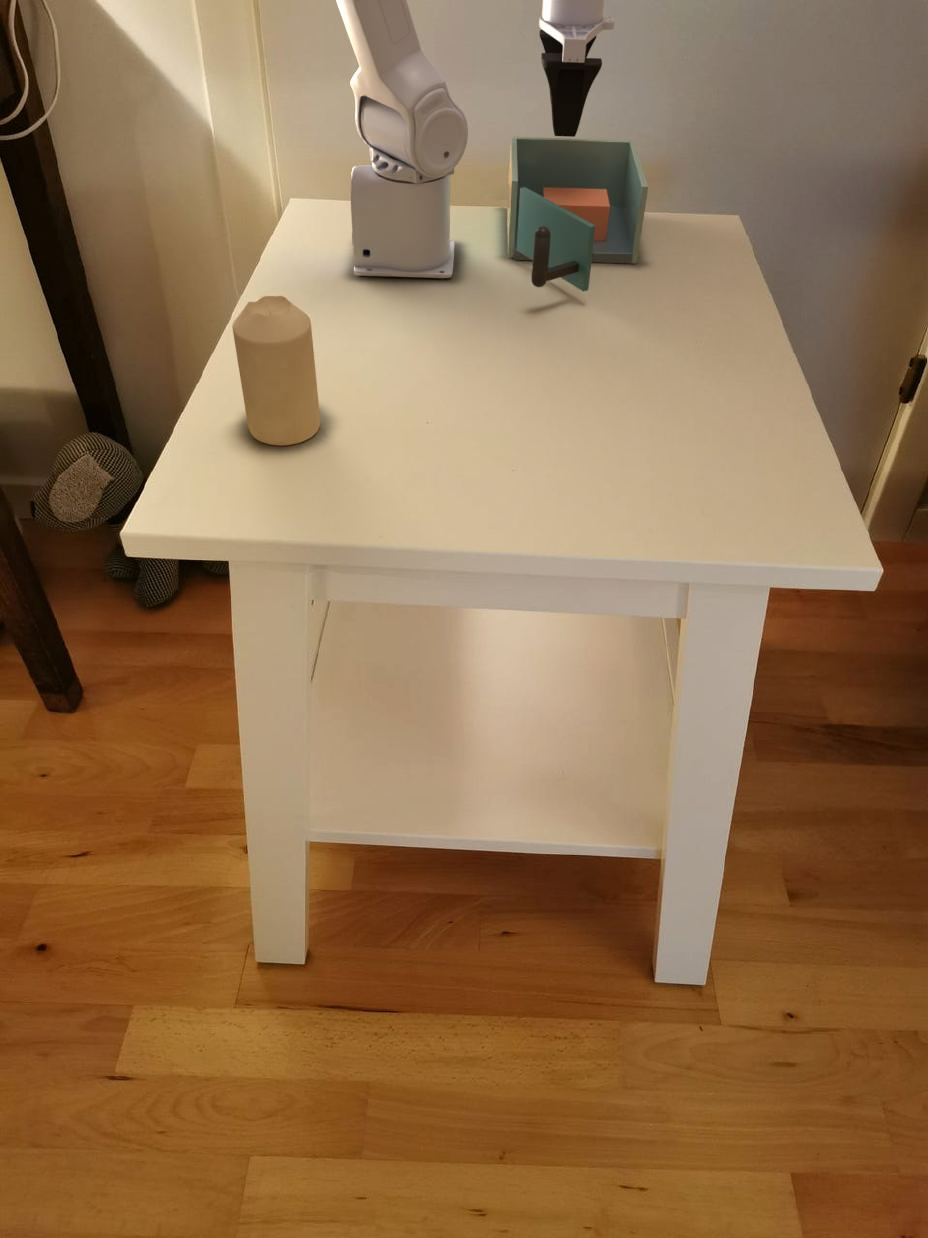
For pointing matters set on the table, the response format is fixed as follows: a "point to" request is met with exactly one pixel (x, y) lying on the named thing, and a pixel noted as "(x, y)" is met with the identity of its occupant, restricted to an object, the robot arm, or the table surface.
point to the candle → (277, 371)
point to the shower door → (554, 241)
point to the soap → (583, 206)
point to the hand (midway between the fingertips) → (563, 122)
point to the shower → (583, 186)
